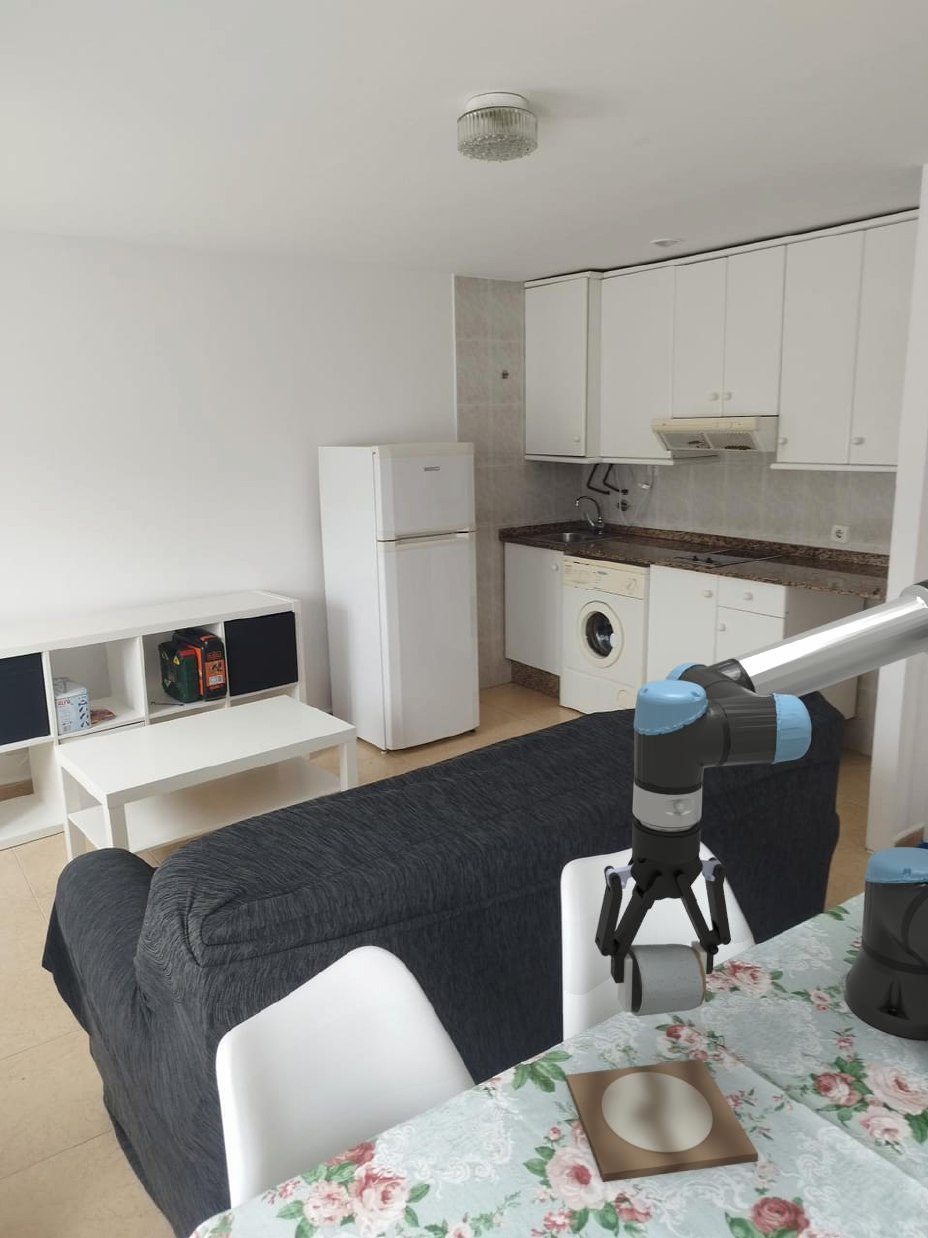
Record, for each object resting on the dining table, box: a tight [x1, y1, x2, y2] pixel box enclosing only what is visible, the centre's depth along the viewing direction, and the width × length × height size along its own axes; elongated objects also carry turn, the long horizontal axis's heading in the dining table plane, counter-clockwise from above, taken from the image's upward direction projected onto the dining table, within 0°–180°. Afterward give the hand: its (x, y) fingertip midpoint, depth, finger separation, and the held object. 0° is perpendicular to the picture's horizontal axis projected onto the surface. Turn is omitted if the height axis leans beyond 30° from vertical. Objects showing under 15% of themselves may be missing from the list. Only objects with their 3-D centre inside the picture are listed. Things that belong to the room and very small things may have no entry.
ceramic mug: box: [628, 943, 707, 1017], centre depth 105 cm, size 11×8×8 cm
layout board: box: [565, 1058, 759, 1182], centre depth 107 cm, size 18×16×1 cm
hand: (660, 1001), depth 104 cm, fingers closed on ceramic mug, 8 cm apart
